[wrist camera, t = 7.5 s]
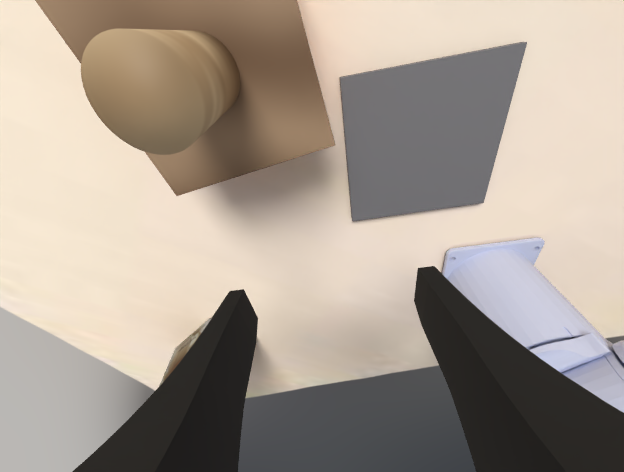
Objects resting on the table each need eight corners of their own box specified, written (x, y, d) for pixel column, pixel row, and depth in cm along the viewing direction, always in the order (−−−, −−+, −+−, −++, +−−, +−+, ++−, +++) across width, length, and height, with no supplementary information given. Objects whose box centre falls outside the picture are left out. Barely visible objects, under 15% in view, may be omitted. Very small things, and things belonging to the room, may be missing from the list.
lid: (333, 140, 13) (347, 195, 9) (182, 189, 15) (127, 257, 10) (259, -139, 8) (197, -361, 4) (38, -18, 10) (-200, -63, 5)
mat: (480, 200, 20) (483, 202, 20) (351, 218, 21) (352, 221, 21) (522, 42, 14) (527, 42, 14) (339, 77, 15) (340, 78, 15)
